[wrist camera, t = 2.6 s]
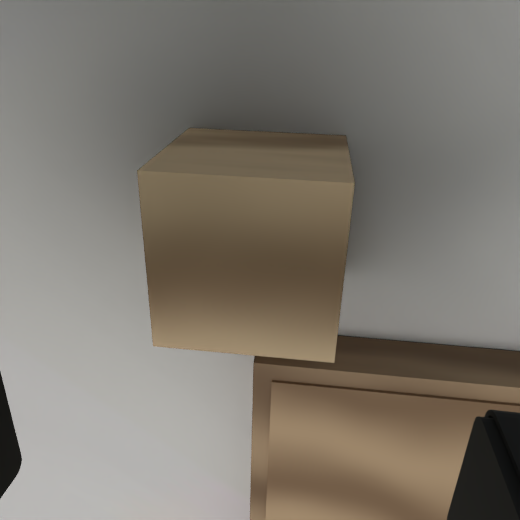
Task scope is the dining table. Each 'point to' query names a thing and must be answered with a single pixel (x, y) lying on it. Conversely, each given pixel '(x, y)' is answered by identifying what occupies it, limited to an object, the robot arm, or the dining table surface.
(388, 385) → the oak board
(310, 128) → the dining table surface
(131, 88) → the dining table surface
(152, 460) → the dining table surface
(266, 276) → the tan cube
